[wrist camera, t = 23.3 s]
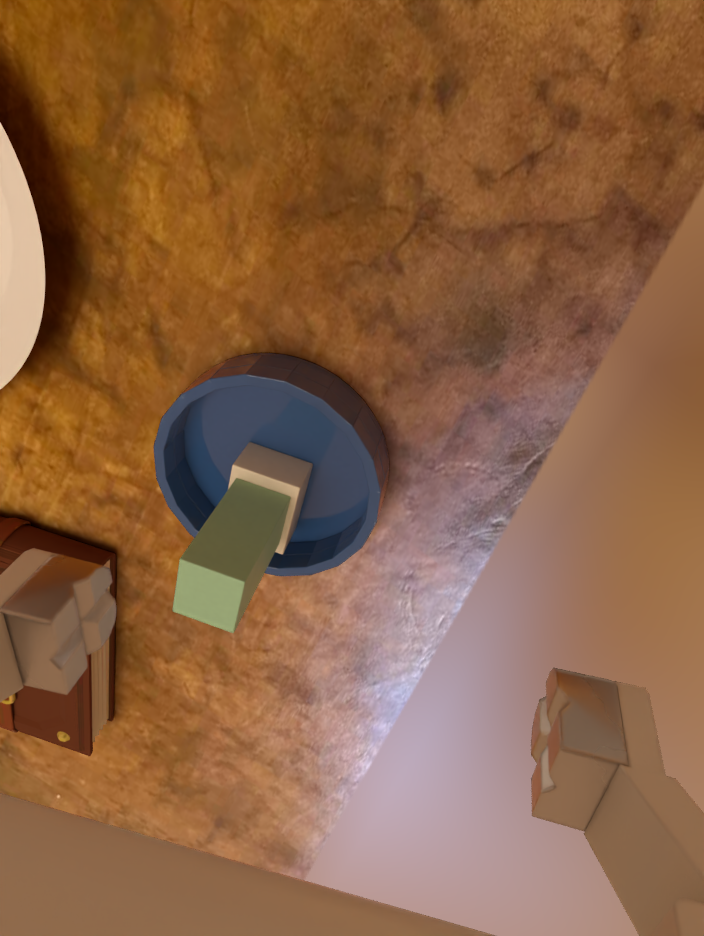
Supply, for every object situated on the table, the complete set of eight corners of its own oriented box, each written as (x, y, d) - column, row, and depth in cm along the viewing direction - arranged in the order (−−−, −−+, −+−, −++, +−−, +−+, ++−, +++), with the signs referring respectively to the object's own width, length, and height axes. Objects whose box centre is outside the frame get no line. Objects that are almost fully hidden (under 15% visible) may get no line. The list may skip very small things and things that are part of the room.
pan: (403, 374, 38) (393, 400, 35) (376, 562, 46) (366, 596, 43) (172, 335, 40) (144, 356, 37) (184, 521, 48) (162, 551, 45)
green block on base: (313, 463, 42) (255, 574, 33) (296, 528, 45) (238, 645, 36) (249, 441, 42) (173, 544, 33) (236, 507, 45) (163, 619, 36)
